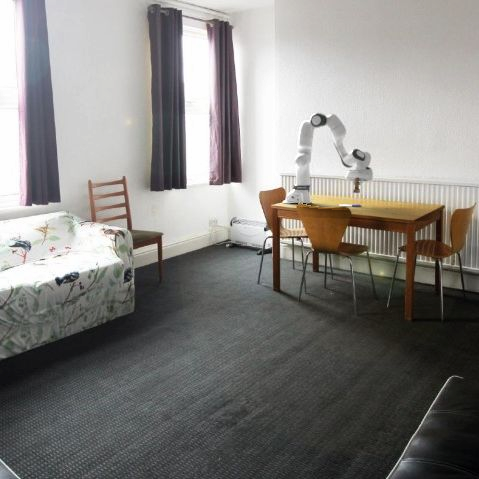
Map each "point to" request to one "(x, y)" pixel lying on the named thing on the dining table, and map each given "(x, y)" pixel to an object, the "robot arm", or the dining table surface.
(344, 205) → the print sheet
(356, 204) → the ink pad
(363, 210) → the dining table surface
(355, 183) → the stamp
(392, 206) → the dining table surface
